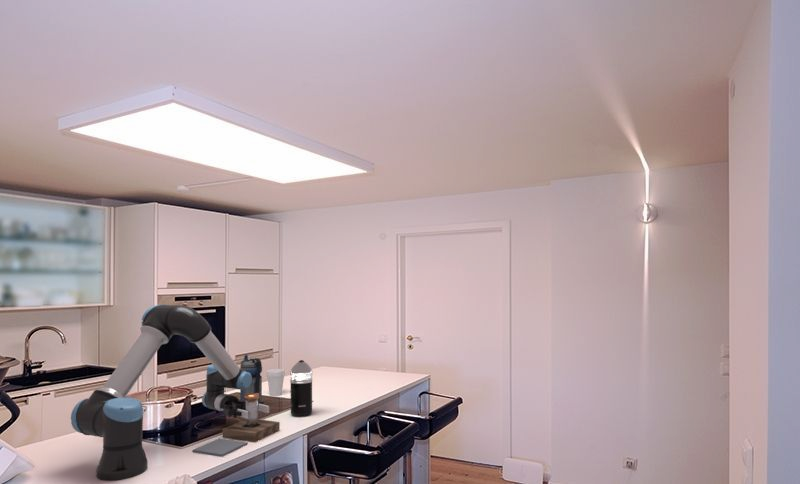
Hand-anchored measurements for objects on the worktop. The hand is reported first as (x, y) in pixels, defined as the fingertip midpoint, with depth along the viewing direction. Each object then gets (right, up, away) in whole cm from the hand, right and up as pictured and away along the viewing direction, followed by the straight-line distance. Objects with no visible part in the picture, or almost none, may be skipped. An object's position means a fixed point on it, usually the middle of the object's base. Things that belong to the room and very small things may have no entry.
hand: (258, 412), depth 209 cm
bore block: (-3, -10, +2) cm, 10 cm away
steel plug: (-3, -10, +2) cm, 10 cm away
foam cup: (-10, -14, +70) cm, 72 cm away
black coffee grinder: (+12, -11, +31) cm, 35 cm away
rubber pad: (-10, -9, -14) cm, 20 cm away
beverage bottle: (-15, -12, +44) cm, 48 cm away
